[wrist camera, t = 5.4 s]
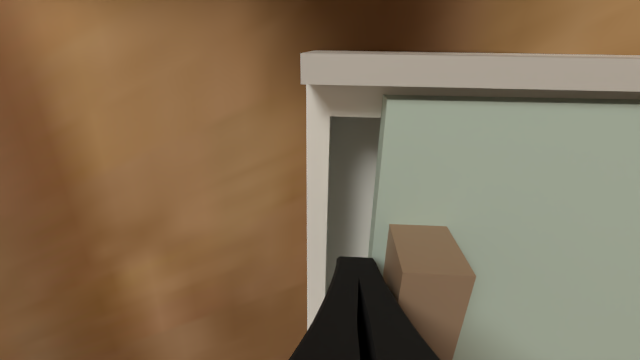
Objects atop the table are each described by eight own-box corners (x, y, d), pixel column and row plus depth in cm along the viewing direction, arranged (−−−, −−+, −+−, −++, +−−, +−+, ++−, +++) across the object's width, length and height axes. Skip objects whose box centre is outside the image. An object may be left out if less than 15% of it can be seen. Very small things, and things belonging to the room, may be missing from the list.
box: (539, 318, 18) (613, 419, 13) (313, 304, 19) (304, 396, 14) (654, 55, 12) (868, 62, 7) (315, 50, 13) (300, 52, 8)
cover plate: (654, 372, 14) (745, 467, 11) (358, 354, 15) (363, 437, 12) (848, 103, 9) (1124, 134, 6) (383, 94, 10) (403, 118, 7)
